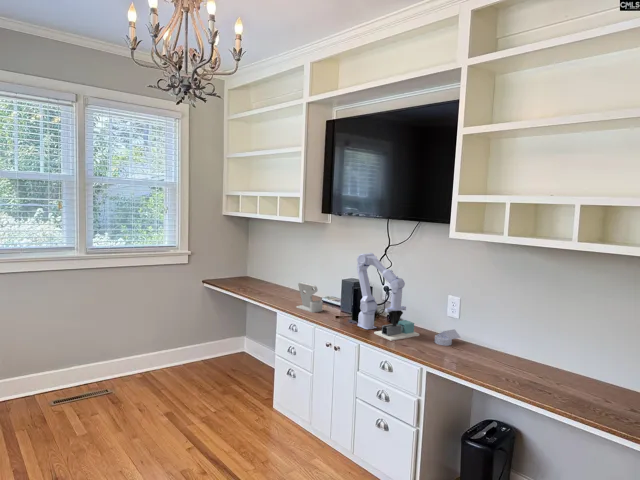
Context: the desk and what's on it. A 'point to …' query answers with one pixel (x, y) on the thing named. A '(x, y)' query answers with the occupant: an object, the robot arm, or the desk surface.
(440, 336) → the wedge on round base
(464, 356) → the desk surface
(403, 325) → the bar
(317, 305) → the phone holder
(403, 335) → the base board
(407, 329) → the socket
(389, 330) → the grey rail guide
